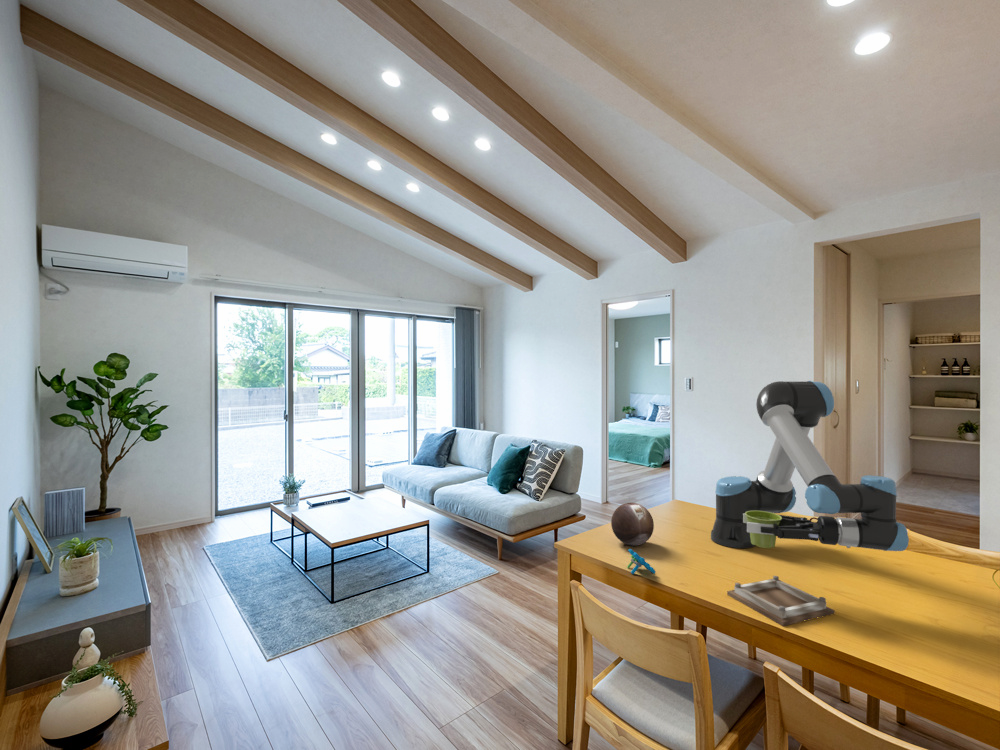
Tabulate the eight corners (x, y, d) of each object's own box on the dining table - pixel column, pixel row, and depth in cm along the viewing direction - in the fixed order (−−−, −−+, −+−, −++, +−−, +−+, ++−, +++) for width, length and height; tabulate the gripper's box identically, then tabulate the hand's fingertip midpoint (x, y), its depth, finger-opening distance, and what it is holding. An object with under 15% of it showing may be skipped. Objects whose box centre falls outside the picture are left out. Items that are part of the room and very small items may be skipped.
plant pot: (777, 541, 144) (777, 512, 144) (785, 552, 136) (785, 521, 135) (742, 538, 147) (742, 509, 147) (747, 548, 139) (747, 518, 138)
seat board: (775, 585, 145) (775, 573, 144) (834, 613, 128) (834, 600, 128) (727, 594, 139) (727, 582, 139) (782, 626, 122) (783, 611, 122)
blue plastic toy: (662, 574, 149) (638, 551, 149) (649, 589, 148) (626, 566, 148) (647, 564, 160) (625, 543, 160) (635, 578, 159) (613, 557, 159)
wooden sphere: (632, 555, 168) (632, 511, 168) (602, 541, 181) (602, 501, 181) (662, 546, 176) (662, 505, 176) (631, 534, 189) (632, 496, 189)
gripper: (848, 558, 125) (749, 547, 133) (825, 532, 145) (741, 524, 153) (848, 529, 125) (749, 520, 133) (825, 507, 145) (741, 500, 153)
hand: (745, 522), depth 143 cm, fingers closed on plant pot, 8 cm apart
